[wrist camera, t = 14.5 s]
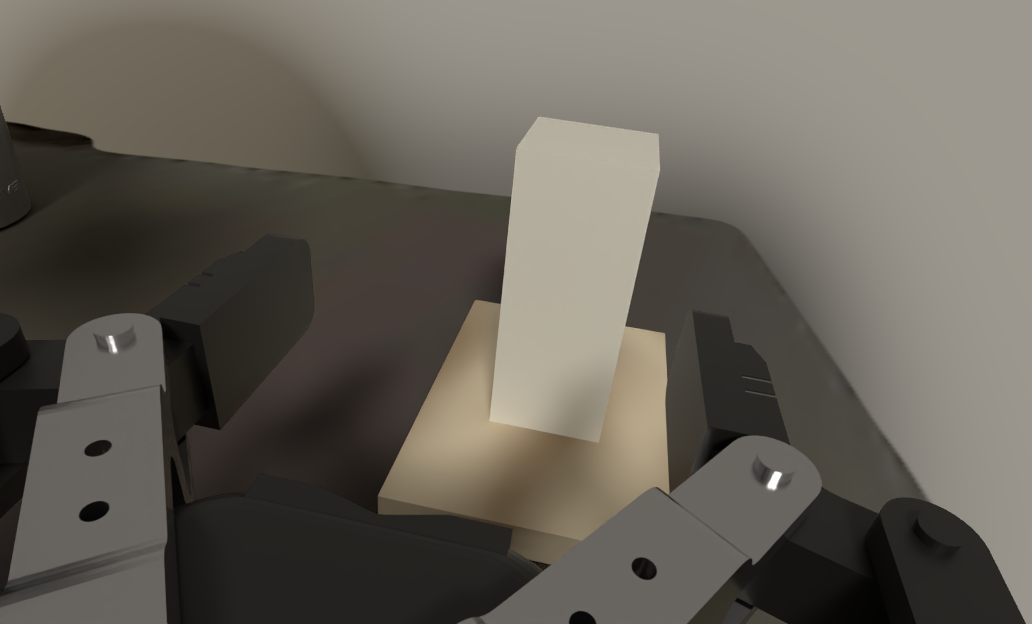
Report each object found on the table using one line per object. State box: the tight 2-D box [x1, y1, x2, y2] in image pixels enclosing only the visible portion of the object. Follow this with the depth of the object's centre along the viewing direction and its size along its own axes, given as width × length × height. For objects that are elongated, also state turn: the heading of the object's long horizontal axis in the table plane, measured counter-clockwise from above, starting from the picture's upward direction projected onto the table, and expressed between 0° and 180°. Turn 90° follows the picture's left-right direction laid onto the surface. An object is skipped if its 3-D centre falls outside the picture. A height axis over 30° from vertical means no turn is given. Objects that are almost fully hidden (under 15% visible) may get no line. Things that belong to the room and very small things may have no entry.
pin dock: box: [378, 300, 669, 565], centre depth 26 cm, size 10×14×4 cm
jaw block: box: [489, 117, 660, 443], centre depth 23 cm, size 4×4×11 cm
